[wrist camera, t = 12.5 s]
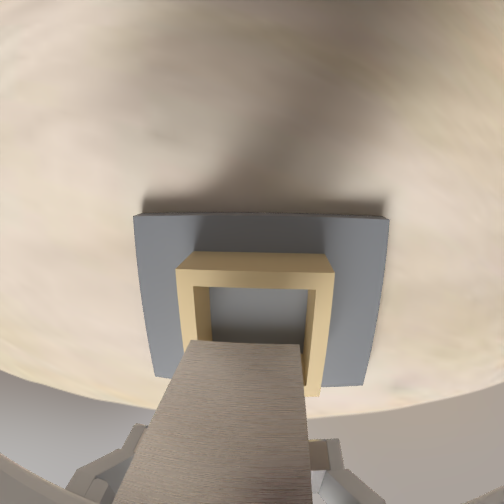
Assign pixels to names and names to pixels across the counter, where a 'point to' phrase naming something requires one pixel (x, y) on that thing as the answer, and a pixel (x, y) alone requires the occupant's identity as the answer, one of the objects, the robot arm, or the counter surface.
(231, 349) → the block
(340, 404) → the counter surface
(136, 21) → the counter surface
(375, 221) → the collar stand
